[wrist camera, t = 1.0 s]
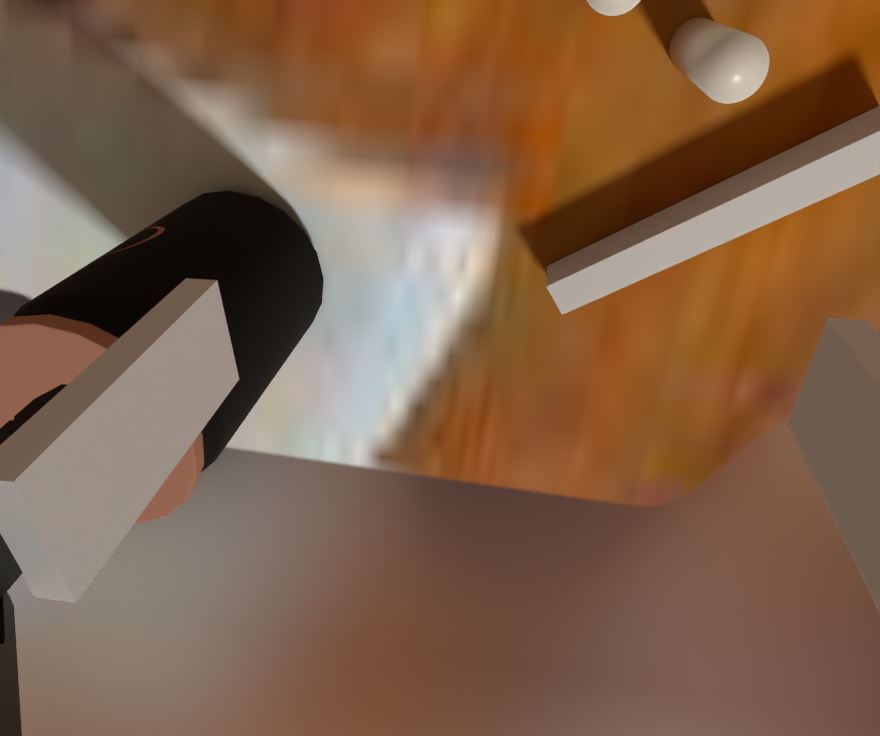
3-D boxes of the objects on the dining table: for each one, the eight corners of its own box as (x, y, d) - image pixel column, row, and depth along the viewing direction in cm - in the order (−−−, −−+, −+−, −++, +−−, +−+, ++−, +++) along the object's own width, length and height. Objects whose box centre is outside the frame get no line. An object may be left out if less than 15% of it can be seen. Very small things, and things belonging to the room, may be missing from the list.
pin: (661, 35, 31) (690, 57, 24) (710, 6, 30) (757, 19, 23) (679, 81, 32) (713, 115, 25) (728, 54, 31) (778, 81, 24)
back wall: (547, 265, 38) (546, 286, 36) (879, 105, 31) (907, 117, 28) (562, 292, 39) (561, 314, 36) (889, 142, 32) (917, 157, 29)
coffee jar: (214, 148, 38) (-16, 268, 23) (360, 256, 40) (238, 431, 25) (151, 273, 43) (-68, 436, 28) (282, 362, 45) (144, 558, 30)
